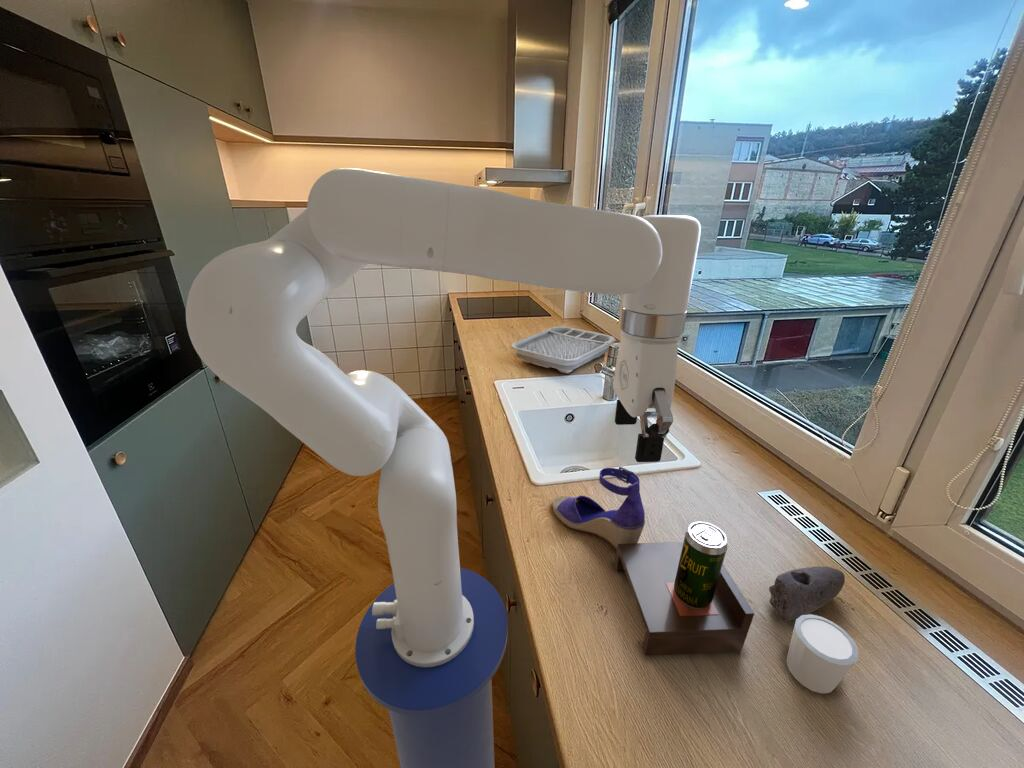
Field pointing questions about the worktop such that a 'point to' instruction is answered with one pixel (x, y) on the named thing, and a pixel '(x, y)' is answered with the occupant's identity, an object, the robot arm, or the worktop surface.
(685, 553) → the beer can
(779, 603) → the perforated stone tool
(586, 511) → the sandal
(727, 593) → the shelf
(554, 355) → the dish rack
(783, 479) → the worktop surface
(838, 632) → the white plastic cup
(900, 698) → the worktop surface
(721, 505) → the worktop surface
